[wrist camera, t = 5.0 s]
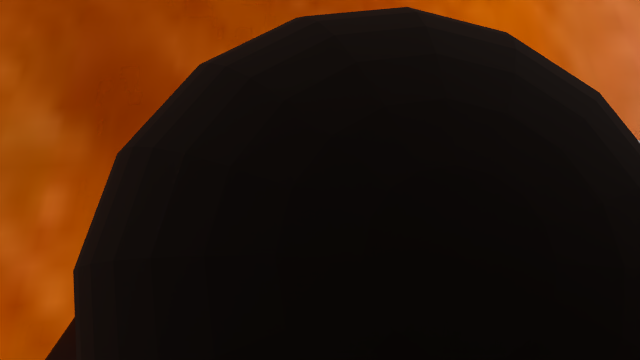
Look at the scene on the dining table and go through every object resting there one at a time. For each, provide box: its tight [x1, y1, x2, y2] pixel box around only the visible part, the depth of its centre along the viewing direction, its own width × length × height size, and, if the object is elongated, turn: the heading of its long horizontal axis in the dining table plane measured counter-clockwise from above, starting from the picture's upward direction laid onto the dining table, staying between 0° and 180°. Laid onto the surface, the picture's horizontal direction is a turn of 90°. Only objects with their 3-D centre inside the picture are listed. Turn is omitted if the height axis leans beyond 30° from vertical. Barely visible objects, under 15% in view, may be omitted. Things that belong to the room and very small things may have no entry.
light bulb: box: [73, 7, 640, 360], centre depth 9 cm, size 7×7×12 cm
